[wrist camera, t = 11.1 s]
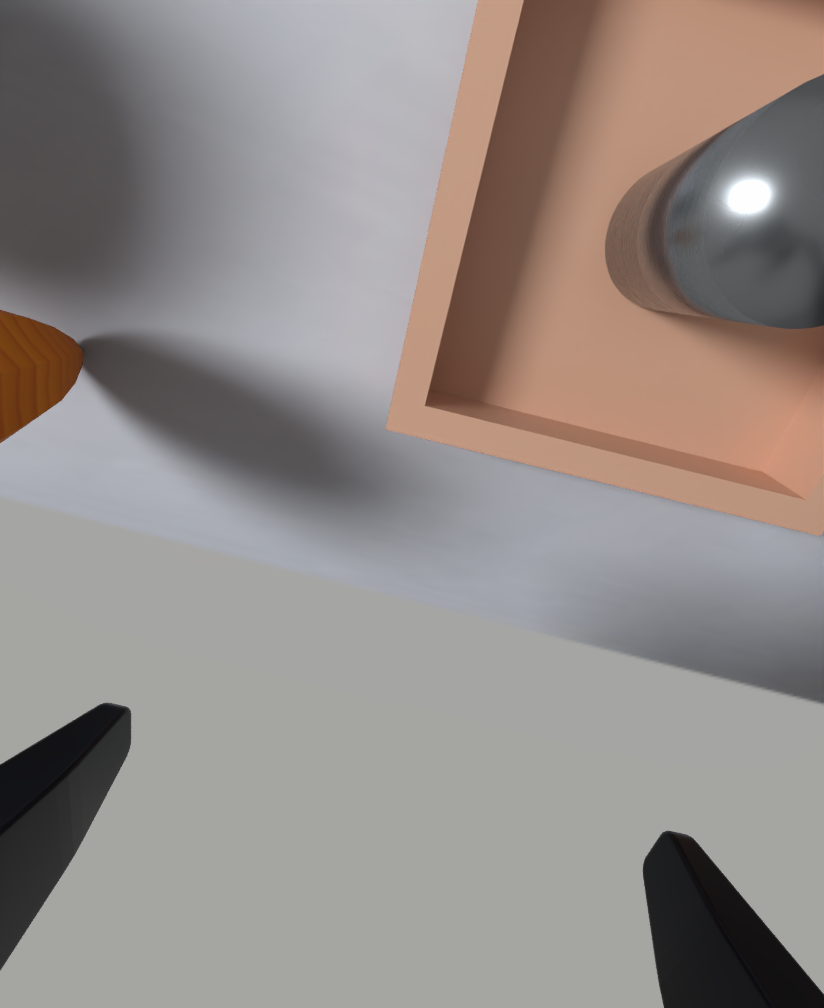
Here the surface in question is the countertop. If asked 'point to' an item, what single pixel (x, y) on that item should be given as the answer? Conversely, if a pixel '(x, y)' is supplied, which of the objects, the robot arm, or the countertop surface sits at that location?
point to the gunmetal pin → (732, 222)
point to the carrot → (33, 370)
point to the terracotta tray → (582, 264)
